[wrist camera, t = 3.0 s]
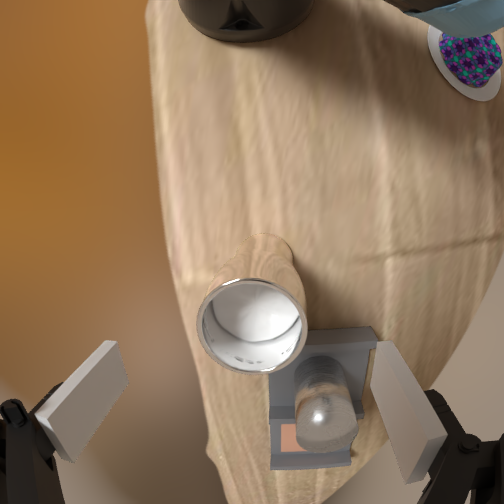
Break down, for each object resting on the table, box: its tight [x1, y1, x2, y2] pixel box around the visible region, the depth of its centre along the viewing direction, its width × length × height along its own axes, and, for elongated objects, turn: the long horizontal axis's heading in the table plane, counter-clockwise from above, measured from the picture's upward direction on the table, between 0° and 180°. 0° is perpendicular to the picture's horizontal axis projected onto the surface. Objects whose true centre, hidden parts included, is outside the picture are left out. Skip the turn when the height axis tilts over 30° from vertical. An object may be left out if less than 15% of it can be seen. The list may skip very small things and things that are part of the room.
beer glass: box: [196, 233, 308, 375], centre depth 24 cm, size 7×7×15 cm
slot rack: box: [269, 326, 378, 470], centre depth 34 cm, size 23×12×3 cm, turn 3°
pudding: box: [427, 25, 502, 101], centre depth 21 cm, size 12×12×5 cm
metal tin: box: [294, 356, 358, 453], centre depth 29 cm, size 6×6×10 cm
